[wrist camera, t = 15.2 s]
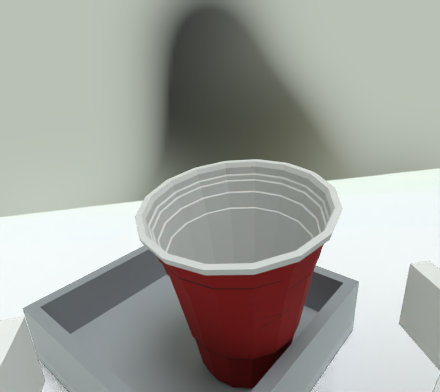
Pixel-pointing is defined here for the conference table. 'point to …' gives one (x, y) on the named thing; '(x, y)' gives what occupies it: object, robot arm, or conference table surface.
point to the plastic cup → (240, 256)
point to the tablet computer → (437, 385)
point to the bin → (169, 333)
